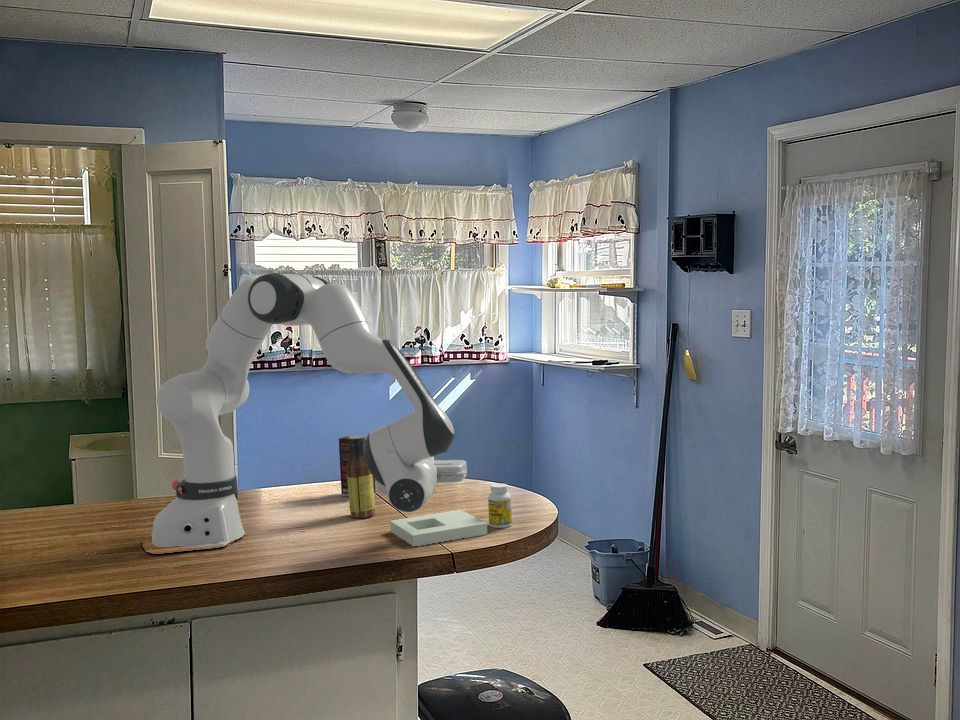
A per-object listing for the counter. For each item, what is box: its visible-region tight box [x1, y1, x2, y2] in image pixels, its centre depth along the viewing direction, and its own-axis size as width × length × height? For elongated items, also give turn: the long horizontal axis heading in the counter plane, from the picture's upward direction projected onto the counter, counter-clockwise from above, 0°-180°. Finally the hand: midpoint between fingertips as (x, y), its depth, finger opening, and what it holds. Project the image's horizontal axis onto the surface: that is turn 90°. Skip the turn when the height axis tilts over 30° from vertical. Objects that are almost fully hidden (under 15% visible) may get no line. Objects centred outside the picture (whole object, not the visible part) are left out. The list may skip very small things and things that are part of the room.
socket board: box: [389, 509, 488, 547], centre depth 211 cm, size 18×14×3 cm
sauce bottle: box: [347, 435, 376, 519], centre depth 227 cm, size 7×6×20 cm
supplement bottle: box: [487, 482, 513, 529], centre depth 216 cm, size 5×5×10 cm
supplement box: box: [338, 435, 377, 498], centre depth 248 cm, size 9×5×16 cm, turn 58°
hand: (424, 463), depth 209 cm, fingers closed on peg, 5 cm apart
